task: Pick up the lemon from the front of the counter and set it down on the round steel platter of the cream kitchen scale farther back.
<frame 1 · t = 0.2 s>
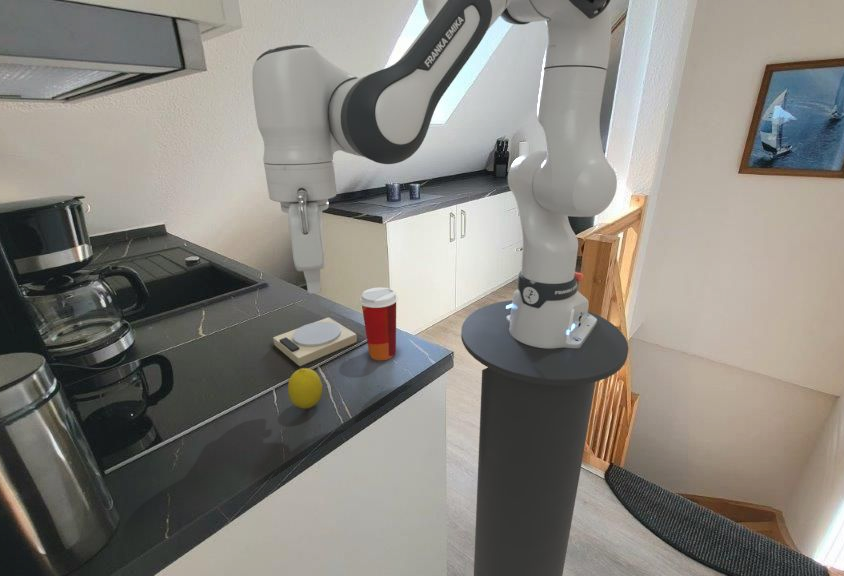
hand: (314, 279, 60), 25 cm above the counter, tool pointing down, fingers open, 8 cm apart
lemon: (308, 408, 71), on the counter
scale: (315, 343, 91), on the counter
paper cup: (382, 354, 87), on the counter
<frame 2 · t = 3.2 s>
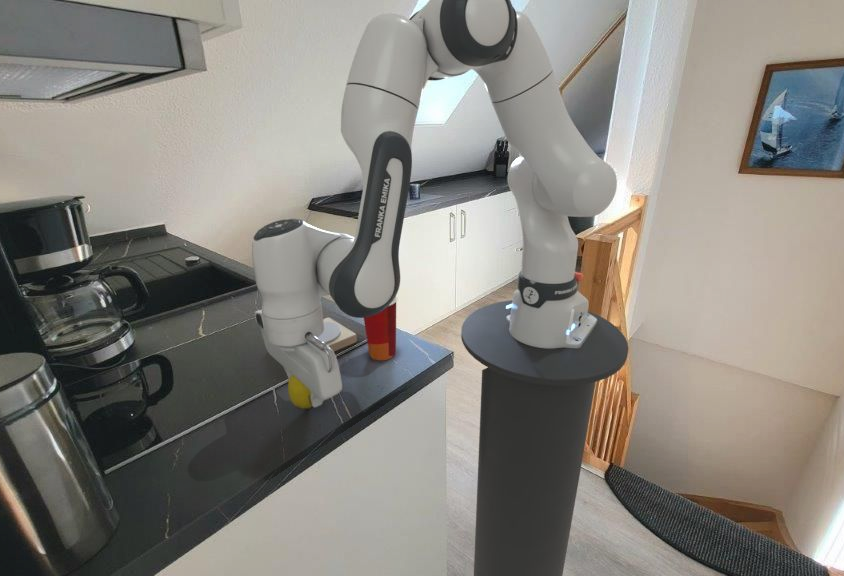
hand: (306, 394, 69), 3 cm above the counter, tool pointing down, fingers closed on lemon, 5 cm apart
lemon: (308, 408, 71), on the counter, touching gripper
everything else where it was.
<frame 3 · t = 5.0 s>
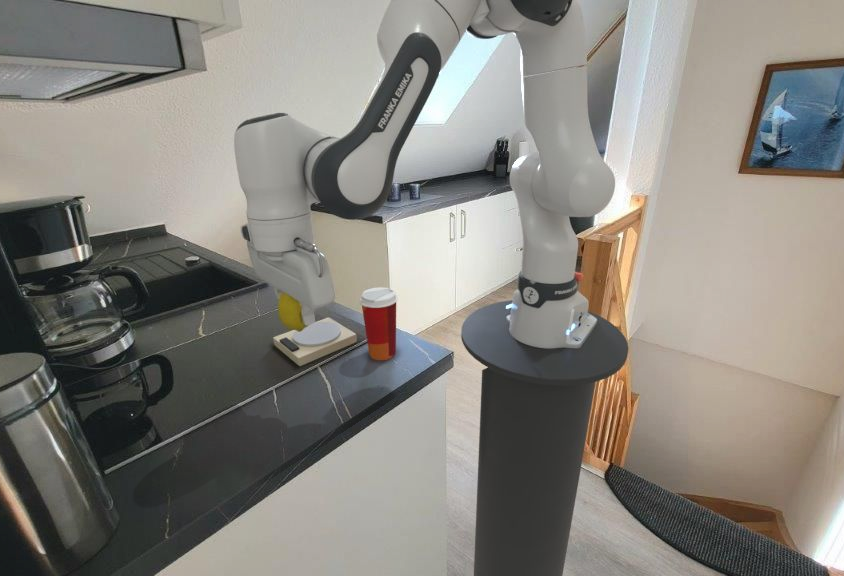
hand: (297, 316, 65), 17 cm above the counter, tool pointing down, fingers closed on lemon, 5 cm apart
lemon: (300, 332, 66), point 14 cm above the counter, touching gripper
everything else where it was.
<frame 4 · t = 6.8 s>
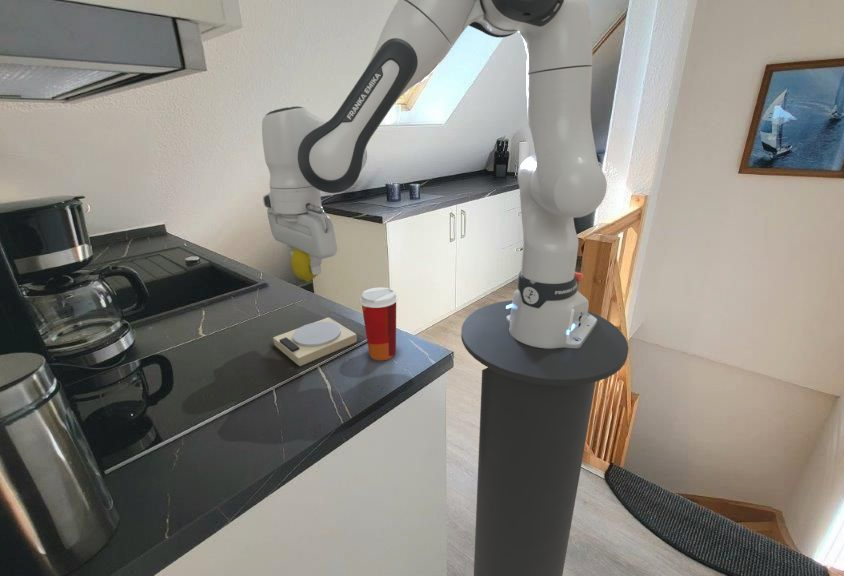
hand: (306, 269, 82), 18 cm above the counter, tool pointing down, fingers closed on lemon, 5 cm apart
lemon: (308, 282, 83), point 15 cm above the counter, touching gripper
everything else where it was.
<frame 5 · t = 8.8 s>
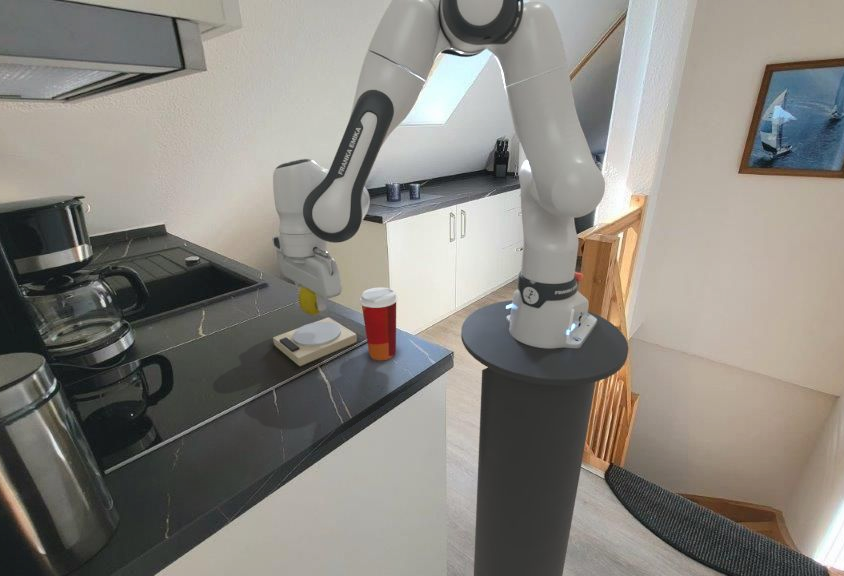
hand: (313, 304, 88), 9 cm above the counter, tool pointing down, fingers closed on lemon, 5 cm apart
lemon: (314, 316, 89), point 7 cm above the counter, touching gripper
everything else where it was.
when the fingers open (5 cm above the counter, at t = 10.4 s): lemon stays where it is, resting on scale.
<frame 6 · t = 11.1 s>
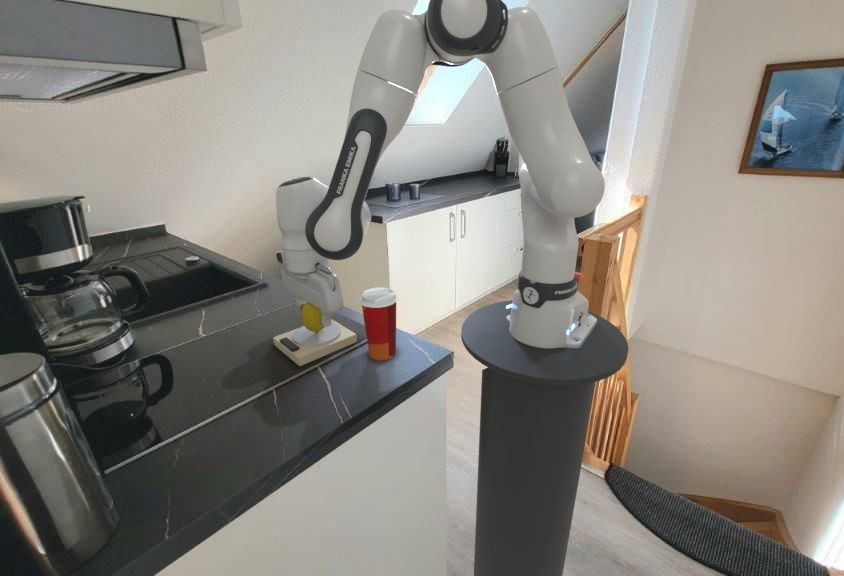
hand: (315, 318, 89), 6 cm above the counter, tool pointing down, fingers open, 8 cm apart
lemon: (317, 333, 90), point 2 cm above the counter, touching scale
everything else where it was.
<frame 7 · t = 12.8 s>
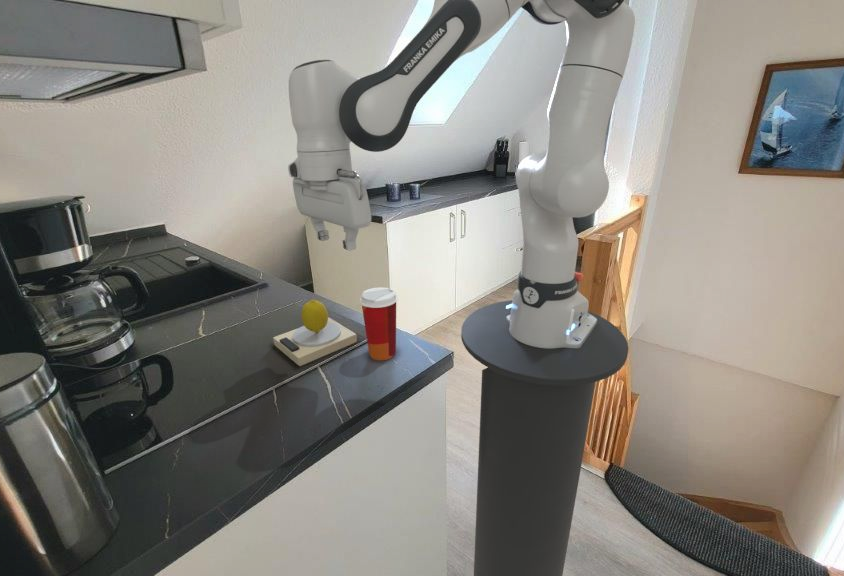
hand: (336, 244, 75), 25 cm above the counter, tool pointing down, fingers open, 8 cm apart
nothing on the counter moved.
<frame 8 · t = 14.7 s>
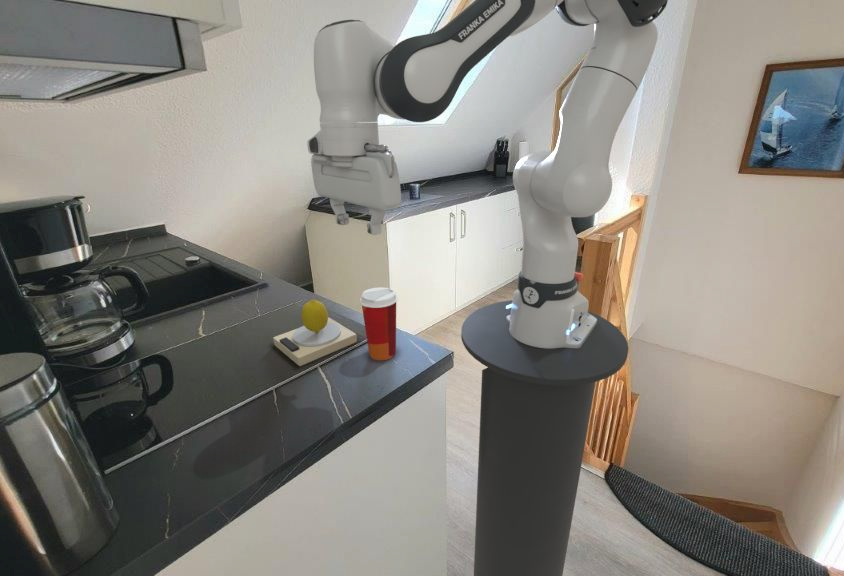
hand: (358, 228, 69), 29 cm above the counter, tool pointing down, fingers open, 8 cm apart
nothing on the counter moved.
at the end: lemon inside the target area on the scale (0.1 cm from its centre), point 2.4 cm above the scale's base; the gripper is holding nothing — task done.
